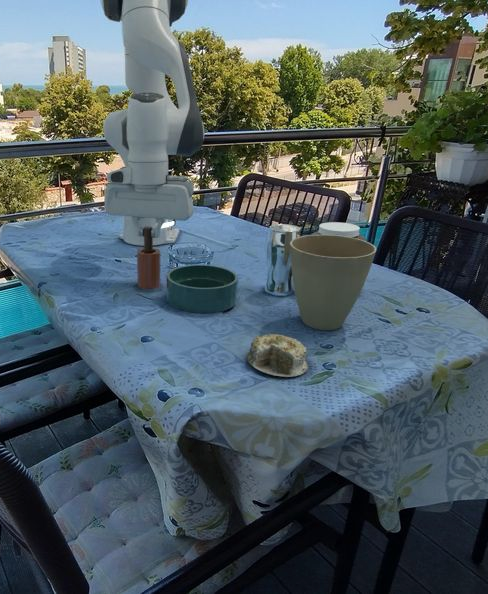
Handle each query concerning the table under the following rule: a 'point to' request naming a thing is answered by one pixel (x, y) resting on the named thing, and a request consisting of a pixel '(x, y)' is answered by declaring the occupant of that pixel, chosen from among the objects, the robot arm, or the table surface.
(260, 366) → the cake
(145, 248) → the stirring stick
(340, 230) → the jar
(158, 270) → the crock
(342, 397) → the table surface
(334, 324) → the plant pot
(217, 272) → the bowl
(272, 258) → the shiny metal cylinder
